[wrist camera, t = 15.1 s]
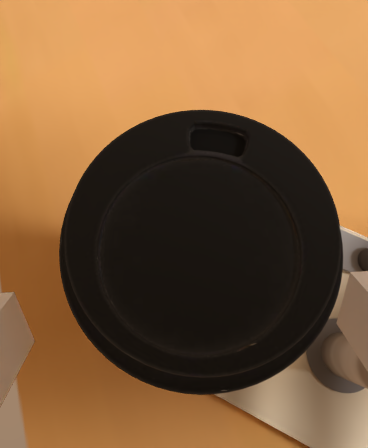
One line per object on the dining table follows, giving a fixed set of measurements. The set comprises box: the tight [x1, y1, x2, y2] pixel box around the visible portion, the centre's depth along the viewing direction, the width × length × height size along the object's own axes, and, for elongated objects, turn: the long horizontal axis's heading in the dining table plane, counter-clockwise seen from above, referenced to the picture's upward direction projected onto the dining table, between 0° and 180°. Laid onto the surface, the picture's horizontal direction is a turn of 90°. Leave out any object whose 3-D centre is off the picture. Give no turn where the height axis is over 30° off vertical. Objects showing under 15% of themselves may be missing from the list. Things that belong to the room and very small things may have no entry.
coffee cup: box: [59, 110, 343, 395], centre depth 15 cm, size 9×9×15 cm
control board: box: [215, 226, 368, 448], centre depth 18 cm, size 22×16×12 cm
